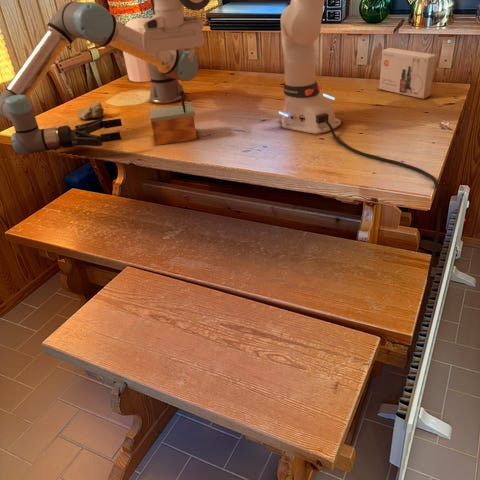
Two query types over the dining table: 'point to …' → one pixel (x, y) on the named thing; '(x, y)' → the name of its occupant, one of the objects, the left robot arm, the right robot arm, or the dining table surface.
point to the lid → (173, 110)
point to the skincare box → (407, 72)
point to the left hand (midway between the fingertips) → (121, 128)
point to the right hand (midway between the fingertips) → (176, 63)
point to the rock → (92, 112)
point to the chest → (174, 130)
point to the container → (134, 65)
